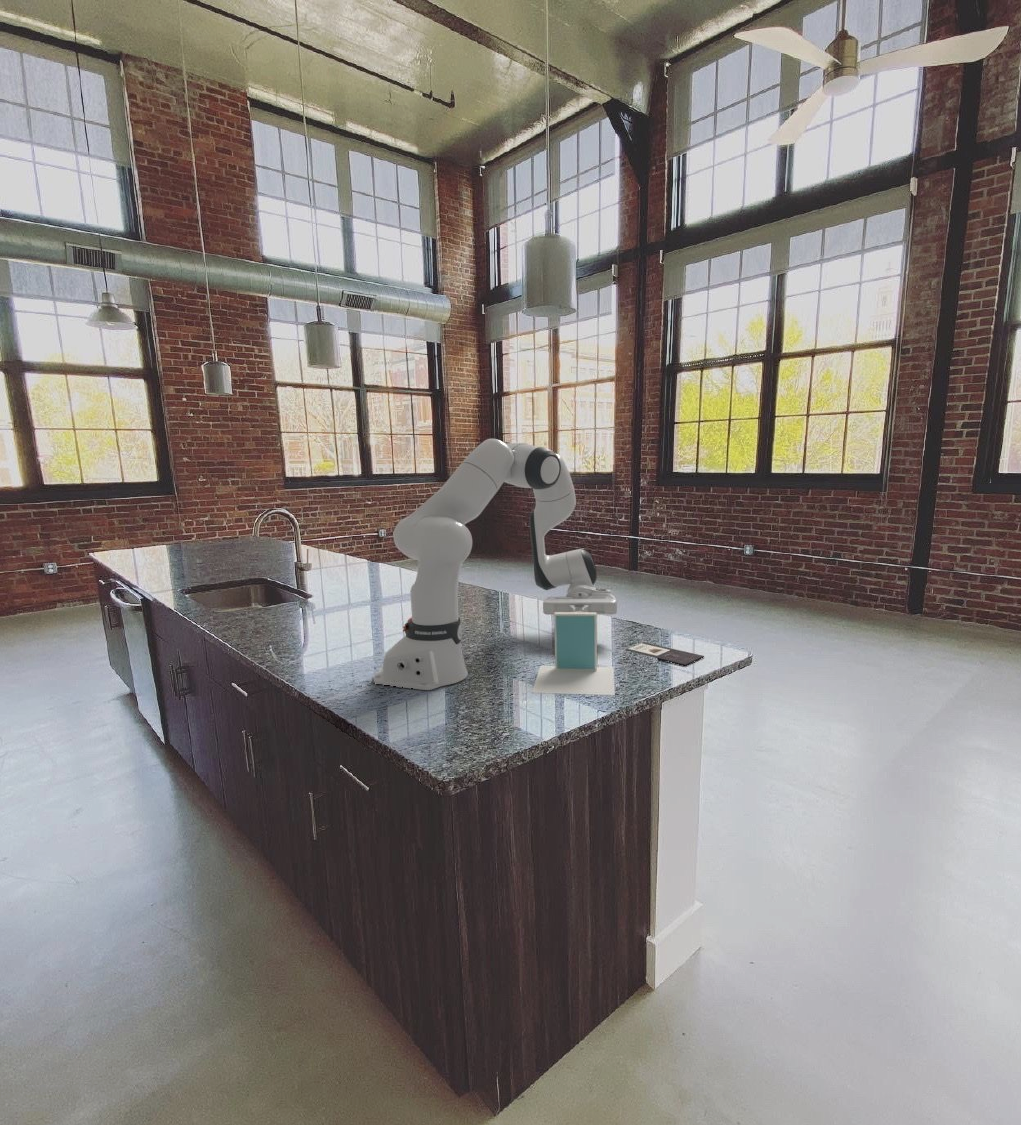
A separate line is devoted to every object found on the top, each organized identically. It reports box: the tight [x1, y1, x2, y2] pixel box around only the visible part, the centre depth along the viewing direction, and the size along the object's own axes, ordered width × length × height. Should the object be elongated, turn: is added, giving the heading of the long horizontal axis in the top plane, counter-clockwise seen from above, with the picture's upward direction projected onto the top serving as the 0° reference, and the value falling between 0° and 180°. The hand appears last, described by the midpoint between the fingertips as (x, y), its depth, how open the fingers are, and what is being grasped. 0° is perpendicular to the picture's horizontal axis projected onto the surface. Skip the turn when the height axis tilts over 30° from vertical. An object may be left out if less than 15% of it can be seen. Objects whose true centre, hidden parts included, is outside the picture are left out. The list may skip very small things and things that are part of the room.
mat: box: [531, 665, 616, 696], centre depth 139 cm, size 18×18×1 cm
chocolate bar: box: [625, 642, 705, 667], centre depth 156 cm, size 9×1×18 cm
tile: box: [553, 612, 598, 671], centre depth 144 cm, size 10×2×14 cm, turn 81°
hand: (578, 612), depth 159 cm, fingers closed
